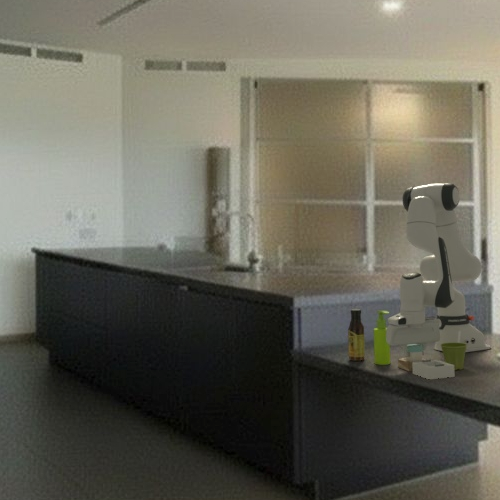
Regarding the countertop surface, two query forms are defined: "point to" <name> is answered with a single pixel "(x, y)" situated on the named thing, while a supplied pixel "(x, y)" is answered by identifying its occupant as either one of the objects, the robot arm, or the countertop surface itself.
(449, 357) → the plant pot
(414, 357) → the plug
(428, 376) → the port
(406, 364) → the brown wooden square frame
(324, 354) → the countertop surface
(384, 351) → the soap dispenser
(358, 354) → the sauce bottle
